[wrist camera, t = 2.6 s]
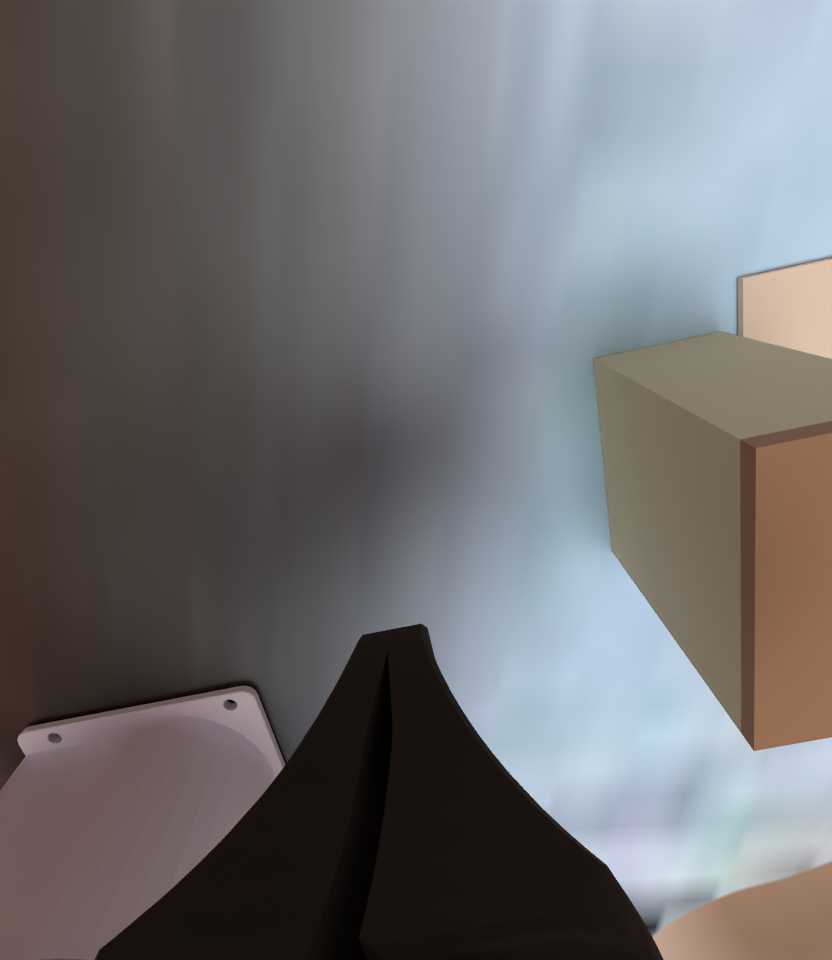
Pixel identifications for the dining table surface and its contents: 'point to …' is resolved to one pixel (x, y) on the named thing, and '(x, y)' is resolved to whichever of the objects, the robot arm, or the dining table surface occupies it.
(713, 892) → the dining table surface
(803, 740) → the sage block
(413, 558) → the dining table surface
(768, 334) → the mat
